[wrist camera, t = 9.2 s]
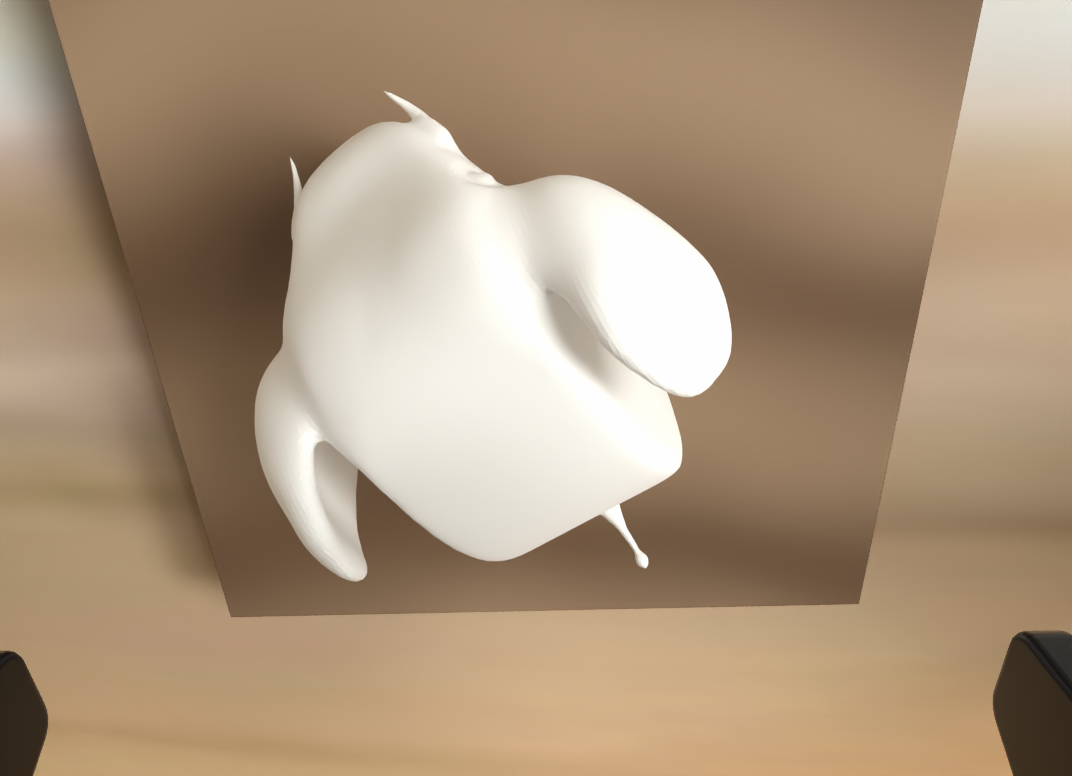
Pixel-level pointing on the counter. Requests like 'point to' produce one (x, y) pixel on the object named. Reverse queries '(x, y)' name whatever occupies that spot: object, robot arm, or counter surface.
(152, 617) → the counter surface
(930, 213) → the walnut board
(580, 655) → the counter surface
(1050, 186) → the counter surface
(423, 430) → the elephant figurine
